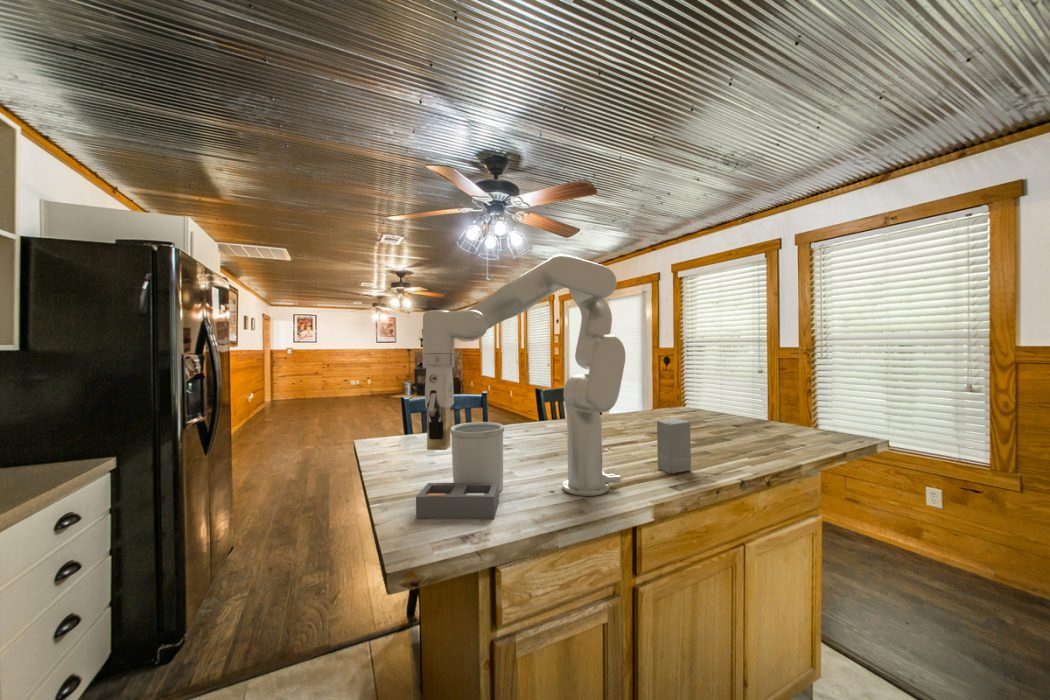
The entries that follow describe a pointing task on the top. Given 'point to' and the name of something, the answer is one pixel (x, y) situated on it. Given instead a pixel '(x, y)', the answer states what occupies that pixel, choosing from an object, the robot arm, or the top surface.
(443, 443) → the plug
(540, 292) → the robot arm
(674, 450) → the skincare box
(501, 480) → the utensil holder
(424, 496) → the socket block
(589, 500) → the top surface
